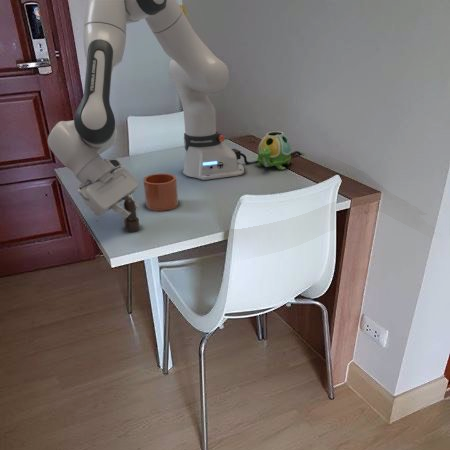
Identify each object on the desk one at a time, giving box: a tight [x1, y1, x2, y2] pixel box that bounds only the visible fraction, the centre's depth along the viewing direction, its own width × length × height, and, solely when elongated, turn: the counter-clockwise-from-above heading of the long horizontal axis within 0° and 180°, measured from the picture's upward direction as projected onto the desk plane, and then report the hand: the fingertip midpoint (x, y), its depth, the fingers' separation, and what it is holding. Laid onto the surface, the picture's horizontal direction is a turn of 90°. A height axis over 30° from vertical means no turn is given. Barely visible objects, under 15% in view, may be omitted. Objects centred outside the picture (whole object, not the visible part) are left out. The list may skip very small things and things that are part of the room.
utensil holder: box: [143, 173, 179, 212], centre depth 152 cm, size 10×10×8 cm
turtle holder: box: [256, 130, 292, 171], centre depth 181 cm, size 12×18×12 cm
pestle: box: [123, 199, 141, 233], centre depth 137 cm, size 4×4×9 cm
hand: (132, 212), depth 136 cm, fingers closed on pestle, 3 cm apart
